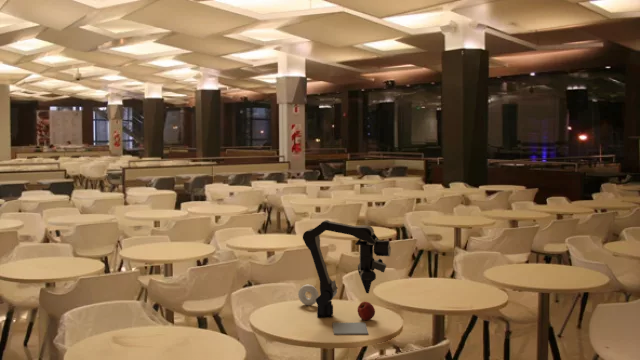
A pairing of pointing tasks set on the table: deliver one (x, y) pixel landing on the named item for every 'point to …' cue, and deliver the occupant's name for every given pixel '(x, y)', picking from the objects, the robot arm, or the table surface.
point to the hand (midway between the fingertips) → (366, 290)
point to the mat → (350, 328)
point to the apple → (366, 311)
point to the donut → (304, 299)
